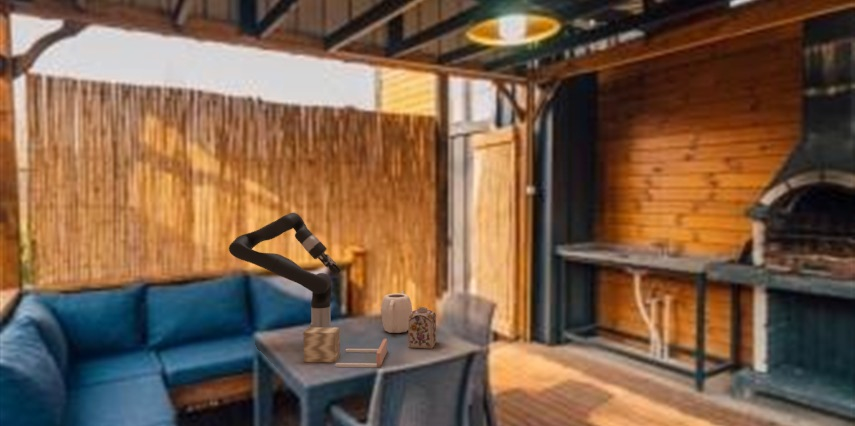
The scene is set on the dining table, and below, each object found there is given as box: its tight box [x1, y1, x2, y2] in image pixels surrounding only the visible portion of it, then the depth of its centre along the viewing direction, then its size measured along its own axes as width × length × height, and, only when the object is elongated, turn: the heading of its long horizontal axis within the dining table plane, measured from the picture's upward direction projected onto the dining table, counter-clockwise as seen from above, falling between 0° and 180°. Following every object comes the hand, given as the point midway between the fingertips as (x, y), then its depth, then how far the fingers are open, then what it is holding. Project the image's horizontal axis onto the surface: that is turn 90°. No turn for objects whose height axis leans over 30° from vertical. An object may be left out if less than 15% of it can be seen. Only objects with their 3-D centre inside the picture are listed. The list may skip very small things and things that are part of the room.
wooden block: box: [302, 326, 341, 363], centre depth 271 cm, size 14×9×13 cm, turn 86°
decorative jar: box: [407, 306, 437, 349], centre depth 291 cm, size 12×12×18 cm
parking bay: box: [335, 338, 388, 368], centre depth 271 cm, size 19×23×6 cm
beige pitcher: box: [380, 290, 413, 334], centre depth 320 cm, size 16×27×19 cm, turn 168°
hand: (337, 272), depth 283 cm, fingers open, 8 cm apart
